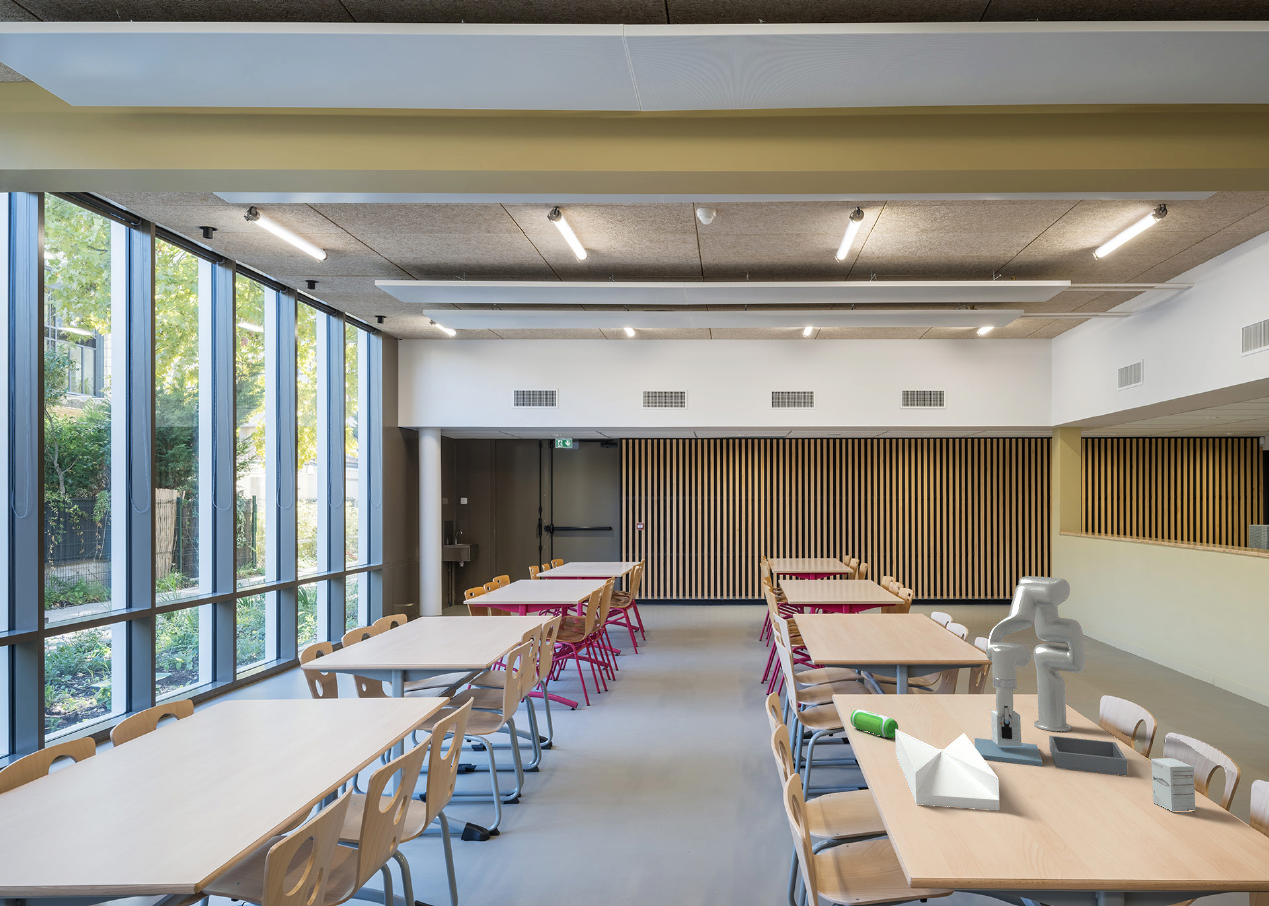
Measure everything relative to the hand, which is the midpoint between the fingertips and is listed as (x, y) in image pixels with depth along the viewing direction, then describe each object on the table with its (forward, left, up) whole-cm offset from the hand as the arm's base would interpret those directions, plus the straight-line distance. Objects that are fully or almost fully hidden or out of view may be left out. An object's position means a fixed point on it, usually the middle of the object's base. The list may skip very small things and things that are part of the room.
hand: (1006, 735), depth 268 cm
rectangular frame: (0, +24, -6) cm, 25 cm away
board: (0, 0, -6) cm, 6 cm away
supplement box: (+35, +41, -6) cm, 54 cm away
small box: (0, 0, -3) cm, 3 cm away
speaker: (-7, -45, -7) cm, 46 cm away
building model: (+37, -20, -7) cm, 43 cm away
